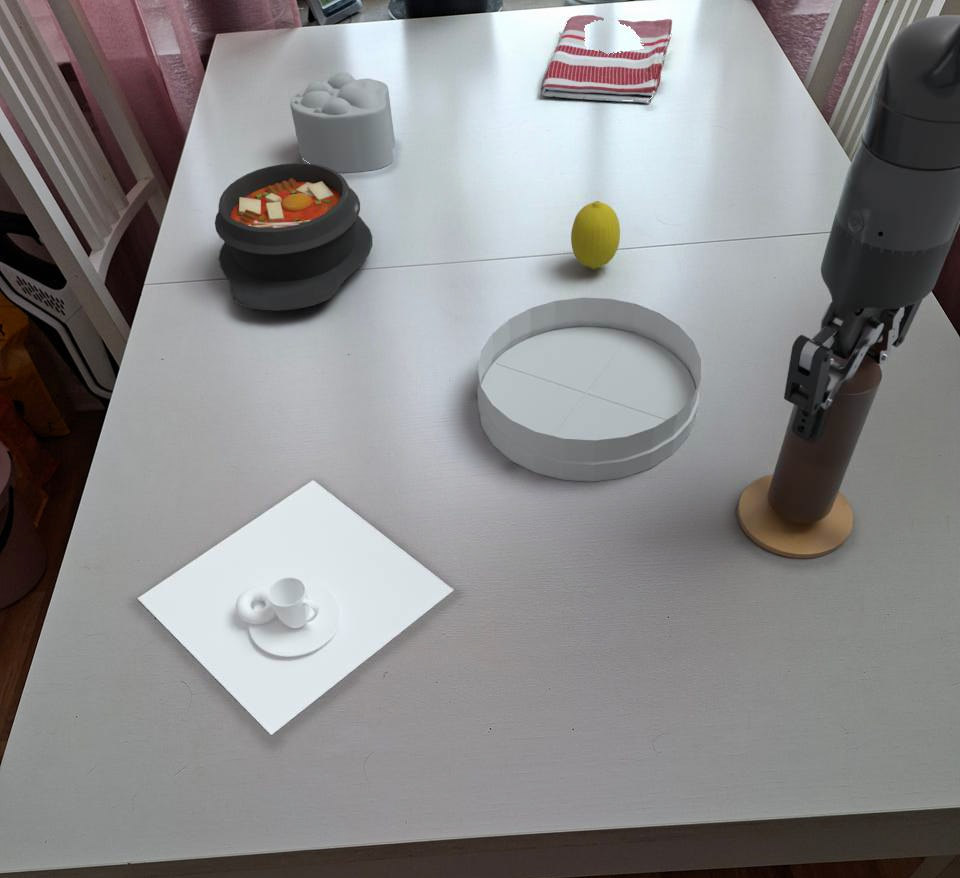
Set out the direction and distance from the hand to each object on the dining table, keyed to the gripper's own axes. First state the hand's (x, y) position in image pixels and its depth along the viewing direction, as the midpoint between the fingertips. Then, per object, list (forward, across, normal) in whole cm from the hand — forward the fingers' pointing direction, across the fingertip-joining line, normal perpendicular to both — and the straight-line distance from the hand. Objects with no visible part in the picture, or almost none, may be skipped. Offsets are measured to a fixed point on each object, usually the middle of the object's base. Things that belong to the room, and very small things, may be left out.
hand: (828, 416), depth 71 cm
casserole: (+12, -8, +67) cm, 69 cm away
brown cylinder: (+10, 0, 0) cm, 10 cm away
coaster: (+12, 0, 0) cm, 12 cm away
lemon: (+12, +16, +40) cm, 45 cm away
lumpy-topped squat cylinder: (+12, +13, +84) cm, 86 cm away
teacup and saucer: (+12, -38, +25) cm, 47 cm away
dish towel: (+12, +56, +75) cm, 94 cm away
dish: (+12, -2, +24) cm, 27 cm away
